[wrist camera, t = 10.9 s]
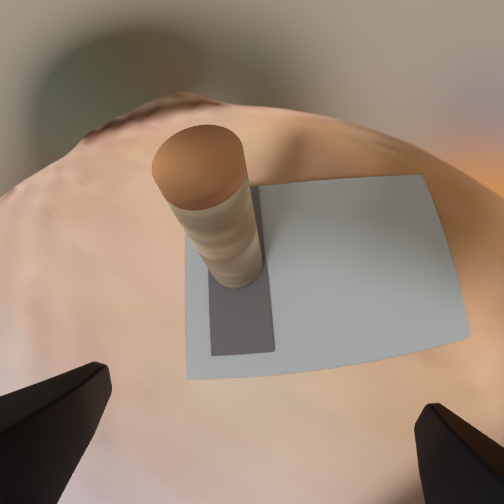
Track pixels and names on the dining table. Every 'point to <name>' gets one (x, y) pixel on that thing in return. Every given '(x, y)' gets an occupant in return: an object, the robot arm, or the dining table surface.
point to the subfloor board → (339, 279)
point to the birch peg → (212, 200)
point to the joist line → (242, 309)
